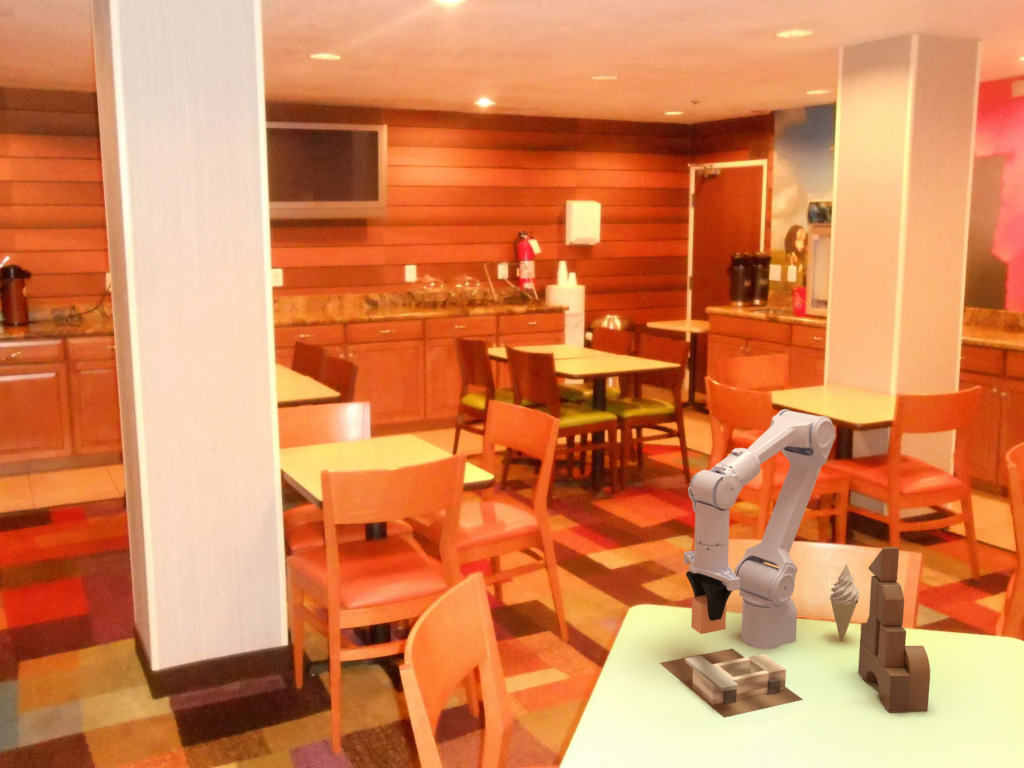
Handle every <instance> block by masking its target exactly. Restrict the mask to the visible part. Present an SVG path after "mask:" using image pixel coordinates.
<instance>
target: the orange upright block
mask: <svg viewBox="0 0 1024 768" xmlns="http://www.w3.org/2000/svg"><path fill="white" fill-rule="evenodd" d="M726 621H727V604H726V605H725V608H724V611H723V615H722V618H721V619H719V620H713V621H711V620H710V619H709V615H708V604H707V597H706V595H703V596H698V597H695V596H693V597H692V598H691V623H690V624H691V628H692V629H693V630H694V631H696V632H697V633H698V634H700V635H703V634H708V633H714V632H718V631H725V630H726V625H727V624H726V623H727V622H726Z"/></svg>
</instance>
